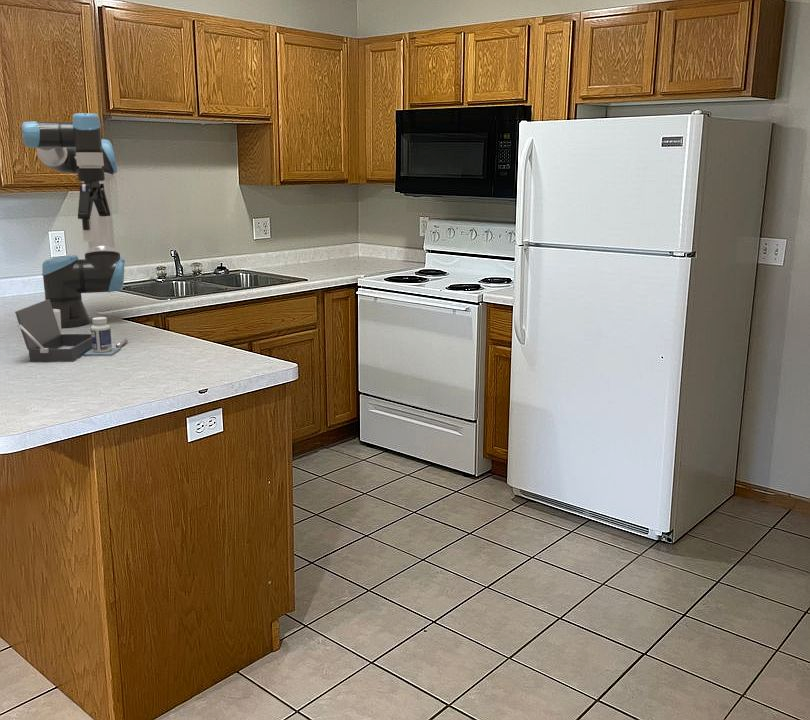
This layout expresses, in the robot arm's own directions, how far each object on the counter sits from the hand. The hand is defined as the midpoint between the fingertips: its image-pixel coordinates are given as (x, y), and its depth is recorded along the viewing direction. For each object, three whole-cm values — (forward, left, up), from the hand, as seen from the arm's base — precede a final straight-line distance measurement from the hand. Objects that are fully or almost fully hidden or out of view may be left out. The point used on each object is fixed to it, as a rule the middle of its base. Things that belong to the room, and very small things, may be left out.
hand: (96, 239), depth 248 cm
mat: (+16, +5, -32) cm, 36 cm away
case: (+16, -7, -32) cm, 36 cm away
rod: (+6, +7, -32) cm, 33 cm away
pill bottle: (+16, +5, -31) cm, 35 cm away
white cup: (+1, -17, -32) cm, 36 cm away
